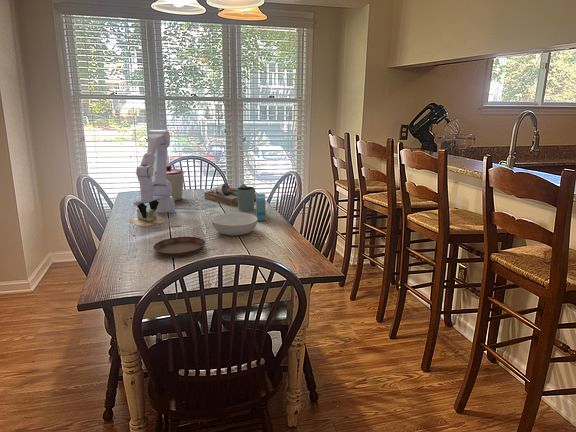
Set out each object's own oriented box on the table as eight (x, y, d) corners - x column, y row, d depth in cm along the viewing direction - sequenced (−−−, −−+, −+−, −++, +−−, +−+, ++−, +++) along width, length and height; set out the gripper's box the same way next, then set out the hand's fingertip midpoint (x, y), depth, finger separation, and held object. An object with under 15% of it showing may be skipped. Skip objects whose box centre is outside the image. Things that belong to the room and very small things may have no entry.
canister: (173, 194, 277) (170, 161, 272) (192, 198, 267) (190, 164, 261) (149, 200, 263) (146, 165, 258) (168, 204, 253) (166, 168, 247)
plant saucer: (144, 251, 178) (143, 243, 177) (188, 239, 192) (187, 232, 191) (170, 264, 164) (170, 256, 163) (215, 251, 178) (215, 243, 177)
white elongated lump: (211, 200, 262) (210, 184, 259) (216, 197, 271) (216, 181, 269) (251, 202, 257) (251, 186, 255) (256, 198, 267) (255, 182, 264)
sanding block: (145, 216, 222) (144, 207, 220) (156, 219, 217) (155, 210, 215) (137, 218, 218) (136, 209, 217) (149, 221, 213) (148, 212, 212)
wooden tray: (228, 193, 280) (228, 187, 279) (256, 200, 262) (255, 193, 261) (204, 198, 267) (204, 192, 266) (231, 205, 249) (231, 199, 248)
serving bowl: (221, 242, 188) (220, 227, 186) (206, 229, 206) (205, 215, 204) (265, 235, 197) (264, 221, 195) (247, 224, 215) (247, 210, 213)
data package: (265, 221, 218) (265, 198, 215) (256, 222, 218) (256, 198, 215) (265, 215, 230) (264, 193, 226) (256, 215, 229) (256, 193, 226)
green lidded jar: (234, 210, 239) (233, 189, 236) (242, 206, 248) (241, 185, 245) (250, 212, 236) (249, 190, 233) (258, 207, 245) (258, 186, 242)
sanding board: (153, 217, 227) (152, 214, 227) (170, 223, 215) (169, 220, 215) (125, 223, 217) (125, 220, 216) (141, 230, 205) (141, 227, 205)
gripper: (153, 186, 220) (156, 212, 224) (128, 191, 209) (131, 218, 213) (162, 188, 216) (164, 214, 220) (137, 193, 205) (140, 221, 209)
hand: (149, 216), depth 216 cm, fingers closed on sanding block, 5 cm apart
